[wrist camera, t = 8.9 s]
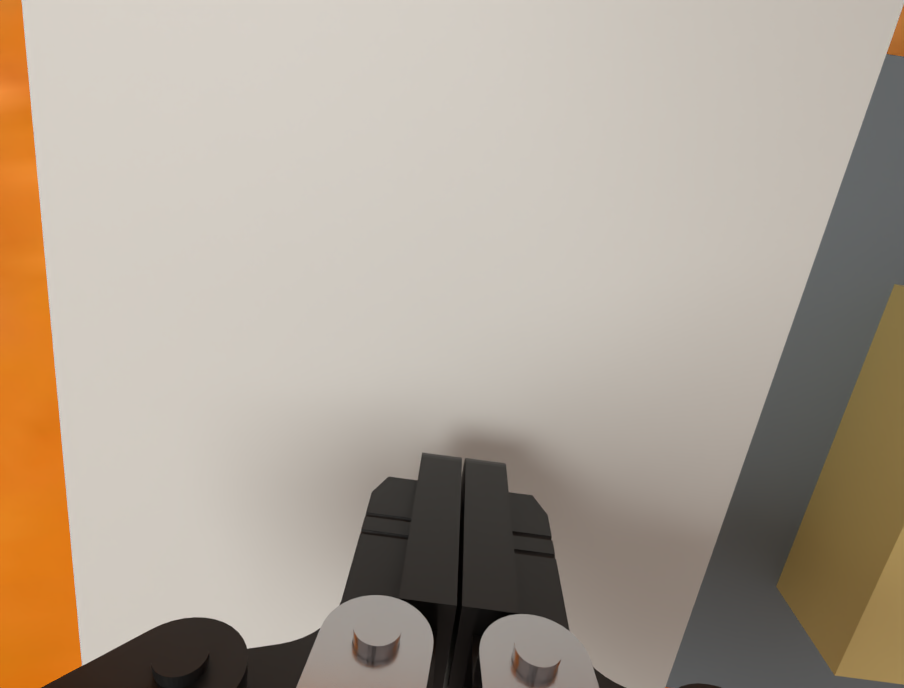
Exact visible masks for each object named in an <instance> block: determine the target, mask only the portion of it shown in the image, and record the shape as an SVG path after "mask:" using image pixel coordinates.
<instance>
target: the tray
mask: <svg viewBox="0 0 904 688" xmlns="http://www.w3.org/2000/svg"><path fill="white" fill-rule="evenodd" d="M894 284H897V285H904V57H902V56H895V55H889V54H886V56H885V59H884V62H883V65H882V68H881V71H880V74H879V76H878V79H877V82H876V85H875V88H874V91H873V94H872V97H871V99H870V102H869V105H868V108H867V111H866V114H865V117H864V119H863V122H862V125H861V128H860V131H859V134H858V137H857V140H856V142H855V145H854V148H853V151H852V154H851V157H850V160H849V162H848V165H847V168H846V171H845V174H844V177H843V180H842V182H841V185H840V188H839V191H838V194H837V197H836V200H835V203H834V205H833V208H832V211H831V214H830V217H829V220H828V223H827V225H826V228H825V231H824V234H823V237H822V240H821V243H820V246H819V248H818V251H817V254H816V257H815V260H814V263H813V266H812V268H811V271H810V274H809V277H808V280H807V283H806V286H805V288H804V291H803V294H802V297H801V300H800V303H799V306H798V309H797V311H796V314H795V317H794V320H793V323H792V326H791V329H790V331H789V334H788V337H787V340H786V343H785V346H784V349H783V352H782V354H781V357H780V360H779V363H778V366H777V369H776V372H775V374H774V377H773V380H772V383H771V386H770V389H769V392H768V394H767V397H766V400H765V403H764V406H763V409H762V412H761V415H760V417H759V420H758V423H757V426H756V429H755V432H754V435H753V437H752V440H751V443H750V446H749V449H748V452H747V455H746V458H745V460H744V463H743V466H742V469H741V472H740V475H739V478H738V480H737V483H736V486H735V489H734V492H733V495H732V498H731V500H730V503H729V506H728V509H727V512H726V515H725V518H724V521H723V523H722V526H721V529H720V532H719V535H718V538H717V541H716V543H715V546H714V549H713V552H712V555H711V558H710V561H709V564H708V566H707V569H706V572H705V575H704V578H703V581H702V584H701V586H700V589H699V592H698V595H697V598H696V601H695V604H694V606H693V609H692V612H691V615H690V618H689V621H688V624H687V627H686V629H685V632H684V635H683V638H682V641H681V644H680V647H679V649H678V652H677V655H676V658H675V661H674V664H673V667H672V670H671V672H670V675H669V678H668V681H667V684H666V687H670V688H679V687H681V686H684V685H687V684H695V683H701V684H710V685H714V686H718V687H721V688H904V685H903V684H895V683H888V682H880V681H872V680H865V679H857V678H850V677H842V676H835V675H834V674H833V672H832V671H831V669H830V668H829V666H828V665H827V663H826V662H825V660H824V659H823V657H822V656H821V654H820V653H819V651H818V649H817V648H816V646H815V645H814V643H813V642H812V640H811V639H810V637H809V636H808V634H807V633H806V631H805V630H804V628H803V627H802V625H801V624H800V622H799V620H798V619H797V617H796V616H795V614H794V613H793V611H792V610H791V608H790V607H789V605H788V604H787V602H786V601H785V599H784V598H783V596H782V595H781V593H780V592H779V590H778V588H777V587H776V586H777V583H778V581H779V578H780V576H781V573H782V571H783V568H784V565H785V563H786V560H787V558H788V555H789V553H790V550H791V548H792V545H793V542H794V540H795V537H796V535H797V532H798V530H799V527H800V525H801V522H802V519H803V517H804V514H805V512H806V509H807V507H808V504H809V502H810V499H811V496H812V494H813V491H814V489H815V486H816V484H817V481H818V479H819V476H820V473H821V471H822V468H823V466H824V463H825V461H826V458H827V456H828V453H829V450H830V448H831V445H832V443H833V440H834V438H835V435H836V433H837V430H838V427H839V425H840V422H841V420H842V417H843V415H844V412H845V410H846V407H847V404H848V402H849V399H850V397H851V394H852V392H853V389H854V387H855V384H856V381H857V379H858V376H859V374H860V371H861V369H862V366H863V364H864V361H865V358H866V356H867V353H868V351H869V348H870V346H871V343H872V341H873V338H874V335H875V333H876V330H877V328H878V325H879V323H880V320H881V318H882V315H883V312H884V310H885V307H886V305H887V302H888V300H889V297H890V295H891V292H892V289H893V287H894Z"/></svg>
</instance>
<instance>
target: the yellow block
mask: <svg viewBox="0 0 904 688" xmlns="http://www.w3.org/2000/svg"><path fill="white" fill-rule="evenodd" d="M776 587H777V588H778V590H779V592H780V593H781V595H782V596H783V598H784V599H785V601H786V602H787V604H788V605H789V607H790V608H791V610H792V611H793V613H794V614H795V616H796V617H797V619H798V620H799V622H800V624H801V625H802V627H803V628H804V630H805V631H806V633H807V634H808V636H809V637H810V639H811V640H812V642H813V643H814V645H815V646H816V648H817V649H818V651H819V653H820V654H821V656H822V657H823V659H824V660H825V662H826V663H827V665H828V666H829V668H830V669H831V671H832V672H833V674H834V675H835V676H842V677H850V678H857V679H865V680H872V681H880V682H888V683H895V684H903V685H904V285H897V284H894V287H893V289H892V292H891V295H890V297H889V300H888V302H887V305H886V307H885V310H884V312H883V315H882V318H881V320H880V323H879V325H878V328H877V330H876V333H875V335H874V338H873V341H872V343H871V346H870V348H869V351H868V353H867V356H866V358H865V361H864V364H863V366H862V369H861V371H860V374H859V376H858V379H857V381H856V384H855V387H854V389H853V392H852V394H851V397H850V399H849V402H848V404H847V407H846V410H845V412H844V415H843V417H842V420H841V422H840V425H839V427H838V430H837V433H836V435H835V438H834V440H833V443H832V445H831V448H830V450H829V453H828V456H827V458H826V461H825V463H824V466H823V468H822V471H821V473H820V476H819V479H818V481H817V484H816V486H815V489H814V491H813V494H812V496H811V499H810V502H809V504H808V507H807V509H806V512H805V514H804V517H803V519H802V522H801V525H800V527H799V530H798V532H797V535H796V537H795V540H794V542H793V545H792V548H791V550H790V553H789V555H788V558H787V560H786V563H785V565H784V568H783V571H782V573H781V576H780V578H779V581H778V583H777V586H776Z"/></svg>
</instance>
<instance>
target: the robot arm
mask: <svg viewBox="0 0 904 688" xmlns="http://www.w3.org/2000/svg"><path fill="white" fill-rule="evenodd" d="M461 476H462V477H461ZM551 538H552V535H551V530H550V524H549V519H548V515H547V513H546V512H545V511H544V509H543V508H542V507H541V506H540V504H539V503H538V502H537V500H536V499H535V498H534V497H533V495H527V494H519V493H511V492H509V491H508V480H507V469H506V464H505V463H500V462H493V461H485V460H477V459H470V458H465V460H464V465H463V471H462V458H461V457H454V456H446V455H438V454H431V453H423V452H422V456H421V462H420V468H419V475H418V480H411V479H404V478H396V477H387V478H386V479H385V480H384V481H383V482H382V483H381V484H380V485H379V486H378V487H377V488H376V489H374V490H373V491H372V493H371V496H370V500H369V503H368V507H367V511H366V516H365V518H364V521H363V525H362V528H361V534H360V536H359V539H358V543H357V546H356V550H355V553H354V557H353V561H352V564H351V568H350V571H349V575H348V578H347V582H346V586H345V589H344V593H343V596H342V600H341V602H340V605H339V606H338V607H336V608H335V609H334V610H333V611H332V612H331V613H330V614H329V615H328V616H327V617H326V619H325V620H324V622H323V624H322V626H321V628H319V629H318V630H316V631H315V632H313V633H311V634H309V635H307V636H305V637H303V638H300V639H297V640H294V641H291V642H286V643H282V644H275V645H269V646H262V647H255V648H249V649H247V646H246V644H245V642H244V639H243V638H242V636H241V635H240V634H239V632H238V631H236V630H235V629H234V628H233V627H232V626H230V625H228V624H226V623H224V622H222V621H219V620H216V619H211V618H203V617H192V618H183V619H178V620H173V621H170V622H167V623H164V624H161V625H159V626H157V627H155V628H153V629H151V630H149V631H147V632H145V633H143V634H141V635H139V636H137V637H136V638H134V639H132V640H130V641H128V642H126V643H124V644H122V645H121V646H119V647H117V648H115V649H113V650H111V651H109V652H107V653H106V654H104V655H102V656H100V657H98V658H96V659H94V660H92V661H91V662H89V663H87V664H85V665H83V666H81V667H79V668H77V669H75V670H74V671H72V672H70V673H68V674H66V675H64V676H62V677H60V678H59V679H57V680H55V681H53V682H51V683H49V684H47V685H45V686H44V687H42V688H626V687H623V686H621V685H619V684H617V683H615V682H613V681H612V680H610V679H609V678H607V677H605V676H604V675H603V674H601V673H600V672H599V671H597V670H596V669H595V668H594V667H593V665H592V662H591V660H590V657H589V655H588V653H587V651H586V649H585V648H584V646H583V645H582V643H581V642H580V641H579V640H578V639H577V638H576V637H575V636H574V635H573V634H572V633H571V632H570V630H569V625H568V620H567V614H566V609H565V604H564V598H563V593H562V588H561V583H560V577H559V572H558V567H557V561H556V559H555V551H554V545H553V541H552V540H551ZM679 688H721V687H718V686H714V685H710V684H701V683H695V684H687V685H684V686H681V687H679Z"/></svg>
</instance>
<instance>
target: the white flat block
mask: <svg viewBox="0 0 904 688" xmlns="http://www.w3.org/2000/svg"><path fill="white" fill-rule="evenodd" d="M903 5H904V0H22V9H23V20H24V31H25V42H26V53H27V64H28V75H29V86H30V97H31V108H32V119H33V130H34V141H35V152H36V163H37V174H38V185H39V196H40V207H41V218H42V229H43V240H44V251H45V262H46V273H47V284H48V295H49V306H50V317H51V328H52V339H53V350H54V361H55V372H56V383H57V394H58V405H59V416H60V427H61V438H62V449H63V460H64V471H65V482H66V493H67V504H68V515H69V526H70V537H71V548H72V559H73V570H74V581H75V593H76V604H77V615H78V626H79V637H80V648H81V659H82V666H83V665H85V664H87V663H89V662H91V661H92V660H94V659H96V658H98V657H100V656H102V655H104V654H106V653H107V652H109V651H111V650H113V649H115V648H117V647H119V646H121V645H122V644H124V643H126V642H128V641H130V640H132V639H134V638H136V637H137V636H139V635H141V634H143V633H145V632H147V631H149V630H151V629H153V628H155V627H157V626H159V625H161V624H164V623H167V622H170V621H173V620H178V619H183V618H192V617H203V618H211V619H216V620H219V621H222V622H224V623H226V624H228V625H230V626H232V627H233V628H234V629H235V630H236V631H238V632H239V634H240V635H241V636H242V638H243V639H244V642H245V644H246V646H247V649H249V648H255V647H262V646H269V645H275V644H282V643H286V642H291V641H294V640H297V639H300V638H303V637H305V636H307V635H309V634H311V633H313V632H315V631H316V630H318V629H319V628H321V626H322V624H323V622H324V620H325V619H326V617H327V616H328V615H329V614H330V613H331V612H332V611H333V610H334V609H335V608H336V607H338V606H339V605H340V602H341V600H342V596H343V593H344V589H345V586H346V582H347V578H348V575H349V571H350V568H351V564H352V561H353V557H354V553H355V550H356V546H357V543H358V539H359V536H360V534H361V528H362V525H363V521H364V518H365V516H366V511H367V507H368V503H369V500H370V496H371V493H372V491H373V490H374V489H376V488H377V487H378V486H379V485H380V484H381V483H382V482H383V481H384V480H385V479H386V478H387V477H396V478H404V479H411V480H418V475H419V468H420V462H421V456H422V452H423V453H431V454H438V455H446V456H454V457H461V458H462V471H463V465H464V460H465V458H470V459H477V460H485V461H493V462H500V463H505V464H506V469H507V480H508V491H509V492H511V493H519V494H527V495H533V497H534V498H535V499H536V500H537V502H538V503H539V504H540V506H541V507H542V508H543V509H544V511H545V512H546V513H547V515H548V519H549V524H550V530H551V535H552V538H551V540H552V541H553V545H554V551H555V559H556V561H557V567H558V572H559V577H560V583H561V588H562V593H563V598H564V604H565V609H566V614H567V620H568V625H569V630H570V632H571V633H572V634H573V635H574V636H575V637H576V638H577V639H578V640H579V641H580V642H581V643H582V645H583V646H584V648H585V649H586V651H587V653H588V655H589V657H590V660H591V662H592V665H593V667H594V668H595V669H596V670H597V671H599V672H600V673H601V674H603V675H604V676H605V677H607V678H609V679H610V680H612V681H613V682H615V683H617V684H619V685H621V686H623V687H626V688H665V687H666V684H667V681H668V678H669V675H670V672H671V670H672V667H673V664H674V661H675V658H676V655H677V652H678V649H679V647H680V644H681V641H682V638H683V635H684V632H685V629H686V627H687V624H688V621H689V618H690V615H691V612H692V609H693V606H694V604H695V601H696V598H697V595H698V592H699V589H700V586H701V584H702V581H703V578H704V575H705V572H706V569H707V566H708V564H709V561H710V558H711V555H712V552H713V549H714V546H715V543H716V541H717V538H718V535H719V532H720V529H721V526H722V523H723V521H724V518H725V515H726V512H727V509H728V506H729V503H730V500H731V498H732V495H733V492H734V489H735V486H736V483H737V480H738V478H739V475H740V472H741V469H742V466H743V463H744V460H745V458H746V455H747V452H748V449H749V446H750V443H751V440H752V437H753V435H754V432H755V429H756V426H757V423H758V420H759V417H760V415H761V412H762V409H763V406H764V403H765V400H766V397H767V394H768V392H769V389H770V386H771V383H772V380H773V377H774V374H775V372H776V369H777V366H778V363H779V360H780V357H781V354H782V352H783V349H784V346H785V343H786V340H787V337H788V334H789V331H790V329H791V326H792V323H793V320H794V317H795V314H796V311H797V309H798V306H799V303H800V300H801V297H802V294H803V291H804V288H805V286H806V283H807V280H808V277H809V274H810V271H811V268H812V266H813V263H814V260H815V257H816V254H817V251H818V248H819V246H820V243H821V240H822V237H823V234H824V231H825V228H826V225H827V223H828V220H829V217H830V214H831V211H832V208H833V205H834V203H835V200H836V197H837V194H838V191H839V188H840V185H841V182H842V180H843V177H844V174H845V171H846V168H847V165H848V162H849V160H850V157H851V154H852V151H853V148H854V145H855V142H856V140H857V137H858V134H859V131H860V128H861V125H862V122H863V119H864V117H865V114H866V111H867V108H868V105H869V102H870V99H871V97H872V94H873V91H874V88H875V85H876V82H877V79H878V76H879V74H880V71H881V68H882V65H883V62H884V59H885V56H886V54H887V51H888V48H889V45H890V42H891V39H892V36H893V33H894V31H895V28H896V25H897V22H898V19H899V16H900V13H901V11H902V8H903ZM461 477H462V476H461Z"/></svg>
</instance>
